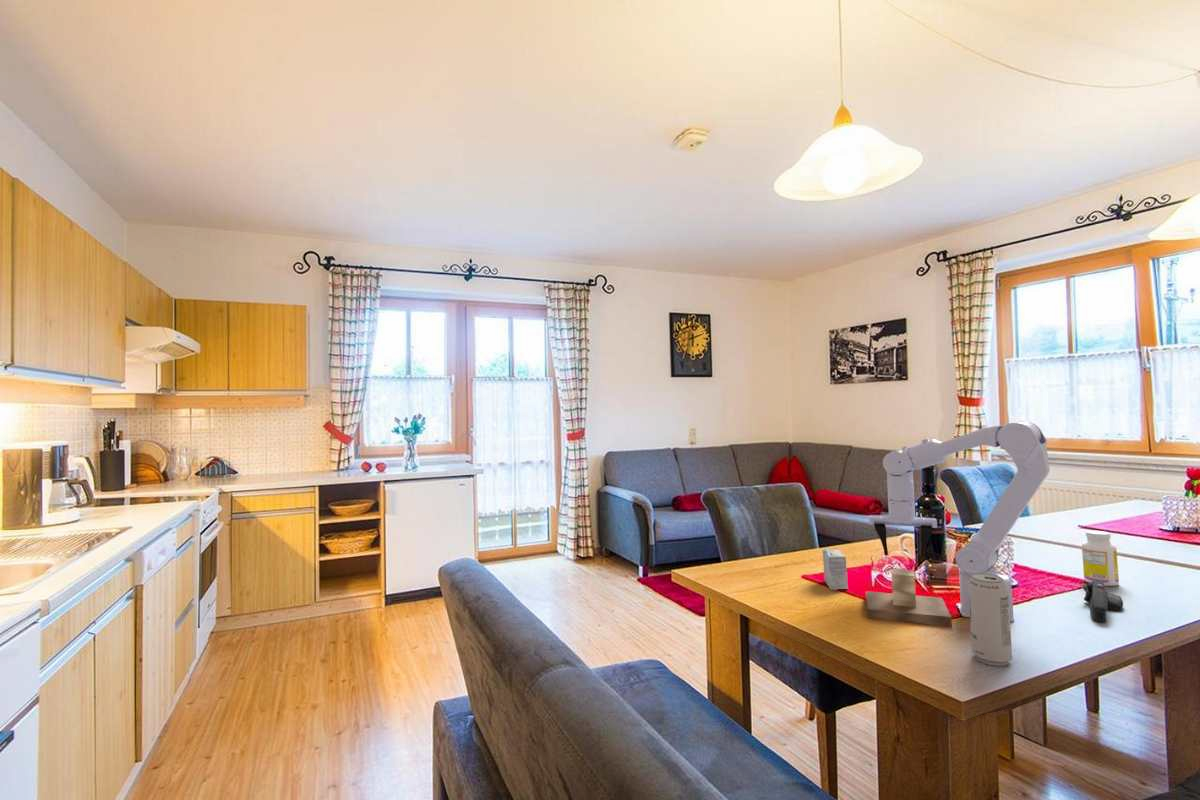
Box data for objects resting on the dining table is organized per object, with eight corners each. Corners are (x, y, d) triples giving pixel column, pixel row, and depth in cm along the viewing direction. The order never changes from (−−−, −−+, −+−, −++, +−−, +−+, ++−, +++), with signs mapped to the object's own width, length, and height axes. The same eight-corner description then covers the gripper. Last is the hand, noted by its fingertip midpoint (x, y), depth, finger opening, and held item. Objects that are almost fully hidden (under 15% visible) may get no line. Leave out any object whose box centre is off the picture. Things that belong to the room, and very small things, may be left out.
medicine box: (848, 590, 143) (846, 556, 144) (829, 590, 144) (828, 556, 144) (841, 581, 151) (839, 549, 151) (823, 581, 152) (822, 549, 152)
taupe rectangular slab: (942, 606, 130) (941, 597, 130) (951, 626, 118) (951, 617, 118) (866, 599, 136) (865, 591, 136) (868, 618, 124) (867, 609, 124)
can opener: (1083, 598, 132) (1082, 575, 132) (1124, 605, 127) (1122, 580, 127) (1076, 620, 119) (1074, 594, 119) (1121, 628, 114) (1119, 600, 114)
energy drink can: (975, 650, 106) (971, 570, 107) (1014, 658, 102) (1010, 576, 102) (969, 661, 102) (964, 578, 102) (1009, 670, 98) (1004, 584, 98)
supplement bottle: (1105, 579, 145) (1101, 529, 145) (1126, 586, 138) (1123, 534, 138) (1077, 579, 145) (1074, 529, 146) (1097, 587, 139) (1094, 535, 139)
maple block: (915, 601, 128) (914, 570, 128) (916, 607, 124) (914, 575, 124) (893, 598, 130) (892, 568, 130) (893, 604, 126) (891, 573, 126)
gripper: (933, 498, 137) (935, 553, 137) (867, 496, 143) (870, 549, 143) (937, 502, 131) (940, 561, 130) (868, 500, 136) (871, 556, 136)
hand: (903, 555), depth 136 cm, fingers open, 7 cm apart
